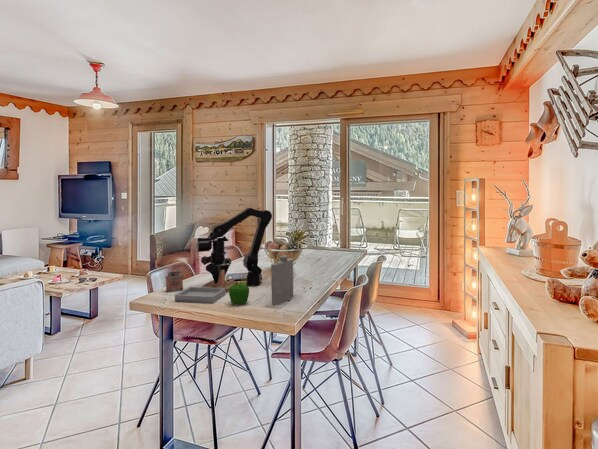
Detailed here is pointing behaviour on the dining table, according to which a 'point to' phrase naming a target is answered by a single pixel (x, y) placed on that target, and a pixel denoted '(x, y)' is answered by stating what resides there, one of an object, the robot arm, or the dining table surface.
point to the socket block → (226, 286)
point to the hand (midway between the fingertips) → (219, 281)
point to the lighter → (174, 281)
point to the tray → (200, 295)
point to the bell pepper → (239, 293)
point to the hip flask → (282, 280)
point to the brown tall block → (221, 279)
